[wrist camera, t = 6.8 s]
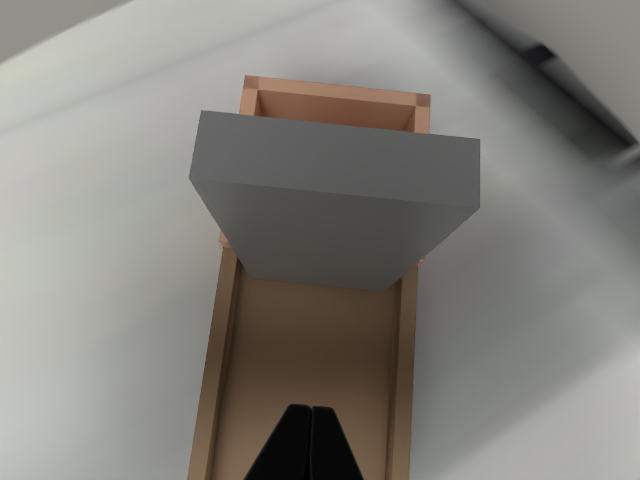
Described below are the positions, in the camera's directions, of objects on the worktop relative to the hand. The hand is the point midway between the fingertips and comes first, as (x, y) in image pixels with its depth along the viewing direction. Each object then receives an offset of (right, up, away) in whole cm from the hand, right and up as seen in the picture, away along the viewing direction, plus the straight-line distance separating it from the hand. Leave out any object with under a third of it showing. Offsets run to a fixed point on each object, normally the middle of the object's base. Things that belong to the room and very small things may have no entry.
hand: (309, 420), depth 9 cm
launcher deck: (0, -2, +9) cm, 9 cm away
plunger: (0, +2, +7) cm, 8 cm away
